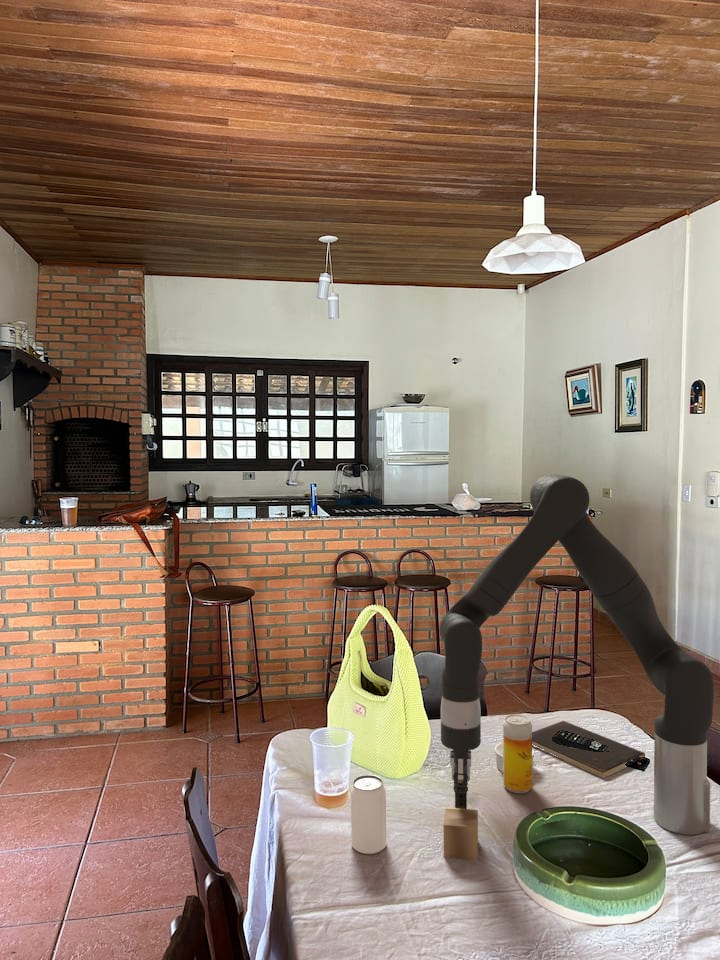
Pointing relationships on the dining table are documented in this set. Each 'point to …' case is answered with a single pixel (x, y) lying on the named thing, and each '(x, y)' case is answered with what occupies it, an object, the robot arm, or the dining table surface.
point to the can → (368, 814)
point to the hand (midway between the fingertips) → (460, 807)
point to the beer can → (517, 753)
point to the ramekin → (500, 756)
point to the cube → (461, 833)
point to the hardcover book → (585, 759)
